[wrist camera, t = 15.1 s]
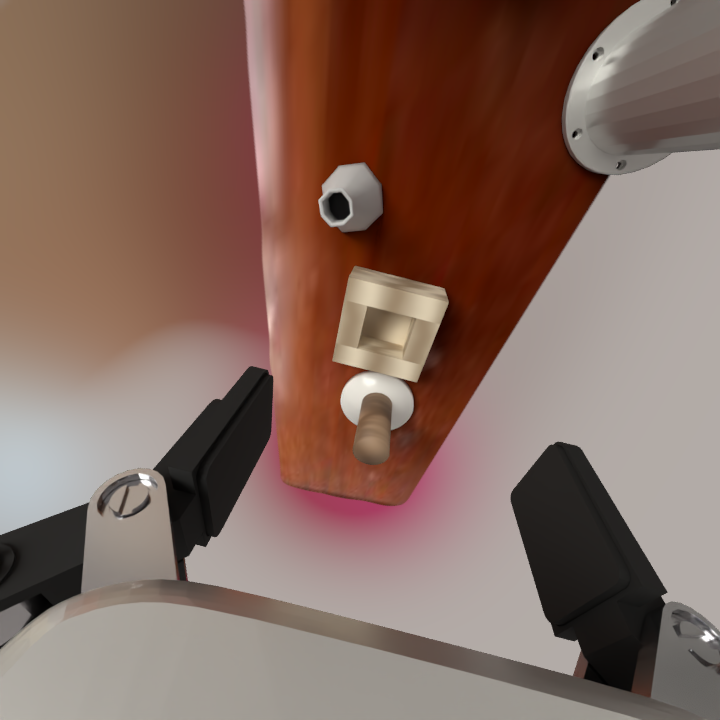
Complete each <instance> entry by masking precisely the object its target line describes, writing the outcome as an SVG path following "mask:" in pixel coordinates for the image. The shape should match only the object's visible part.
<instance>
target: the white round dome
mask: <svg viewBox="0 0 720 720" xmlns="http://www.w3.org/2000/svg"><path fill="white" fill-rule="evenodd" d="M370 393H382V394H384V395H386V396H388V397H389V398H390V400H391V402H392V417H391V430H393V429H396V428H398V427H400V426H402V425H403V424H405V423H406V422H407V421H408V420H409V418H410V417H411V415H412V412H413V408H414V399H413V394H412V391H411V389H410V387H409V386H408V385H407V383H406V382H405V381H404V380H402V379H401V378H397V377H394V376H390V375H386V374H382V373H378V372H374V371H365V372H361V373H359V374H357V375H355V376H353V377H352V378H351V379H350V380H349V381H348V382H347V383H346V384H345V386H344V388H343V391H342V395H341V407H342V410H343V412H344V414H345V415H346V416H347V418H348V419H349V420H350V421H352V422H353V423H354V424H356V425H358V420H359V414H360V409H361V404H362V400H363V398H364V397H365V396H366V395H368V394H370Z"/></svg>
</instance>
